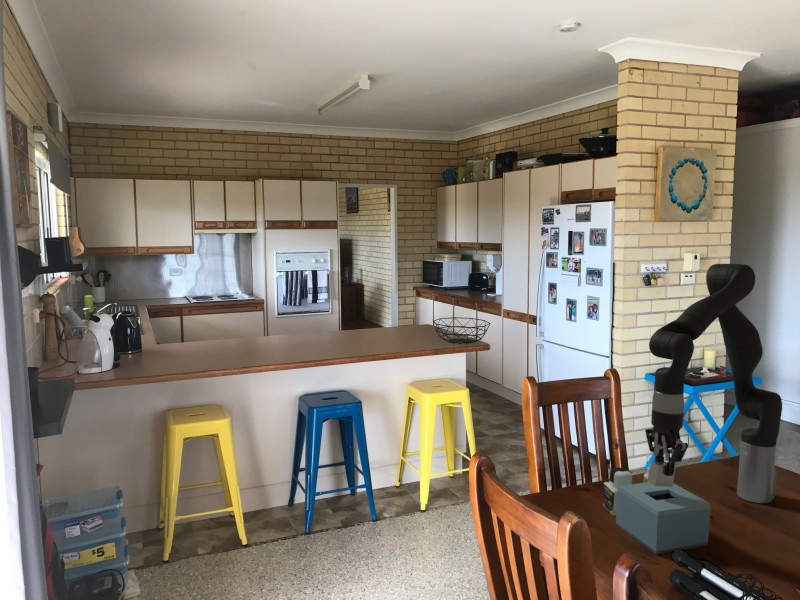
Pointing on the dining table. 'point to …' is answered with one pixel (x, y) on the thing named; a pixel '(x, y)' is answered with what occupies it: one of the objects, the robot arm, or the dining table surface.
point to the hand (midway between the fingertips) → (663, 472)
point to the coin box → (663, 517)
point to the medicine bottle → (615, 487)
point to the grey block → (659, 475)
